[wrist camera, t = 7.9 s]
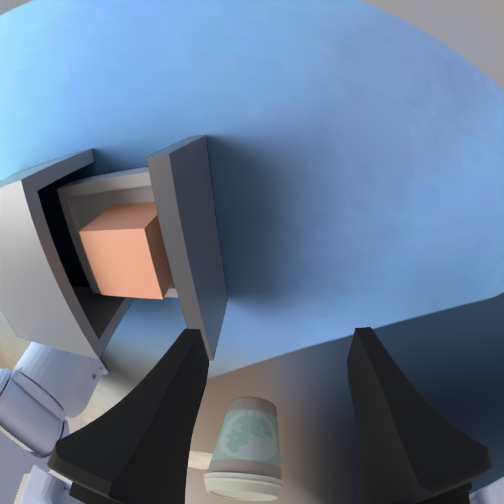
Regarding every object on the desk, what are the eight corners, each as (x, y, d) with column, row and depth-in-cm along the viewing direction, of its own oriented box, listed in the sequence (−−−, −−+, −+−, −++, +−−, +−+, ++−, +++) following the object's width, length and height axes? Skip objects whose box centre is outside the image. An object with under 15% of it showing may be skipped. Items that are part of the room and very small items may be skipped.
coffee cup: (299, 399, 29) (298, 495, 18) (270, 425, 33) (265, 503, 23) (228, 383, 28) (210, 484, 17) (210, 412, 32) (194, 492, 22)
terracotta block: (127, 261, 19) (102, 295, 16) (111, 205, 17) (78, 231, 14) (182, 262, 19) (163, 299, 15) (170, 200, 17) (144, 228, 13)
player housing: (134, 298, 23) (98, 359, 17) (53, 291, 24) (16, 336, 18) (92, 148, 16) (20, 179, 10) (11, 175, 17) (-44, 207, 11)
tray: (228, 298, 21) (213, 360, 16) (108, 294, 22) (76, 341, 17) (205, 135, 15) (169, 153, 10) (67, 162, 16) (10, 190, 11)
